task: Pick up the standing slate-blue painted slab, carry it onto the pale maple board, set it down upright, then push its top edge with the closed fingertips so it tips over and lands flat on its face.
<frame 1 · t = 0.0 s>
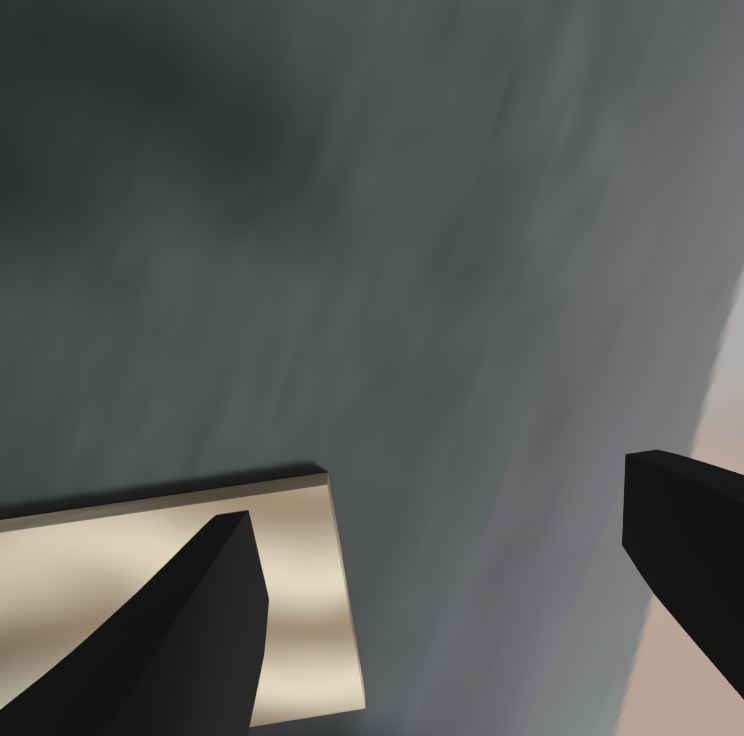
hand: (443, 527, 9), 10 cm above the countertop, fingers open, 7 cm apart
board: (170, 616, 21), on the countertop
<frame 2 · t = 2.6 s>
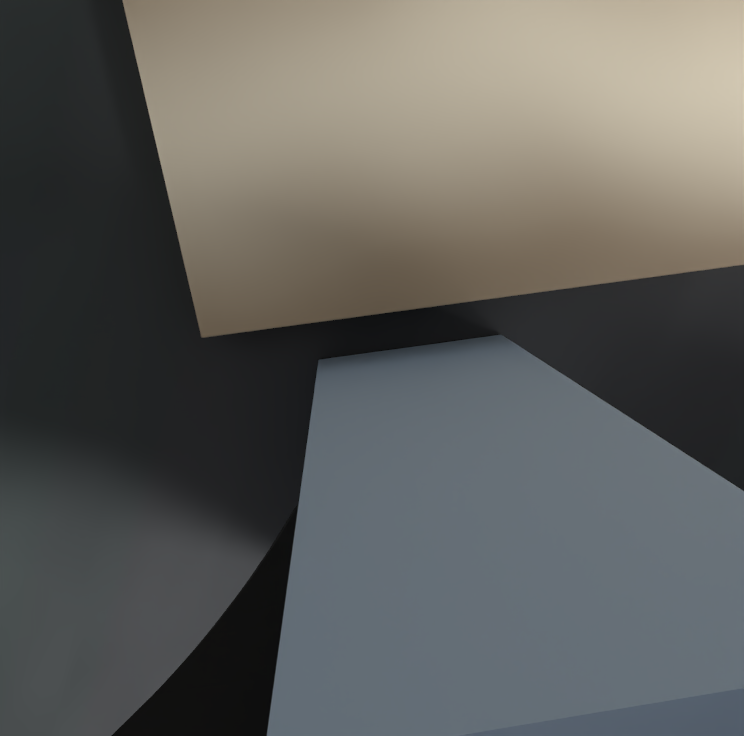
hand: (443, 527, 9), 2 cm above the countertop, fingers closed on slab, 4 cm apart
slab: (423, 470, 11), on the countertop, touching gripper
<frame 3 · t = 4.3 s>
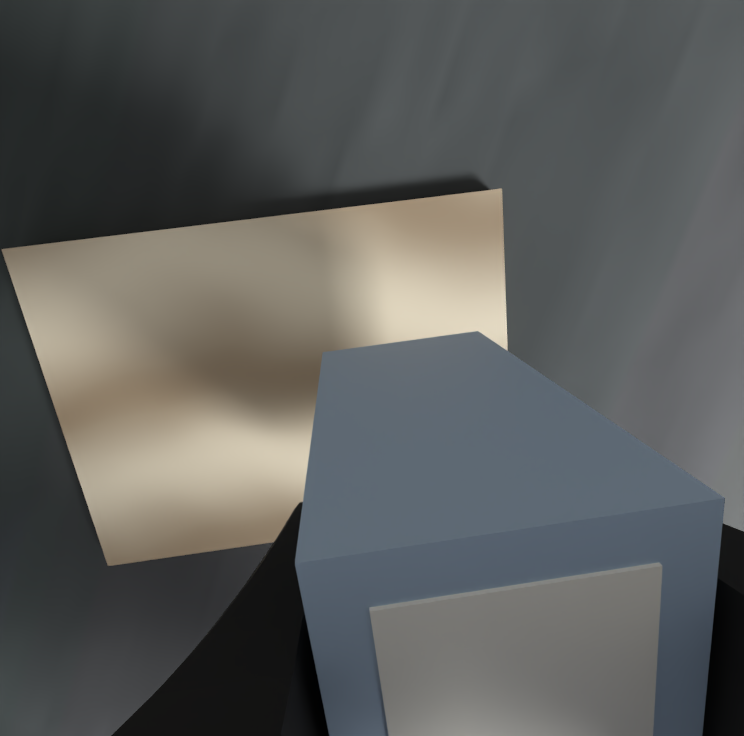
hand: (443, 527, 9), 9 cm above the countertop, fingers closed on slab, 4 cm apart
board: (290, 384, 18), on the countertop
slab: (412, 448, 13), point 5 cm above the countertop, touching gripper
when the fingers open (4 cm above the countertop, at t = 5.8 s): slab stays where it is, resting on board.
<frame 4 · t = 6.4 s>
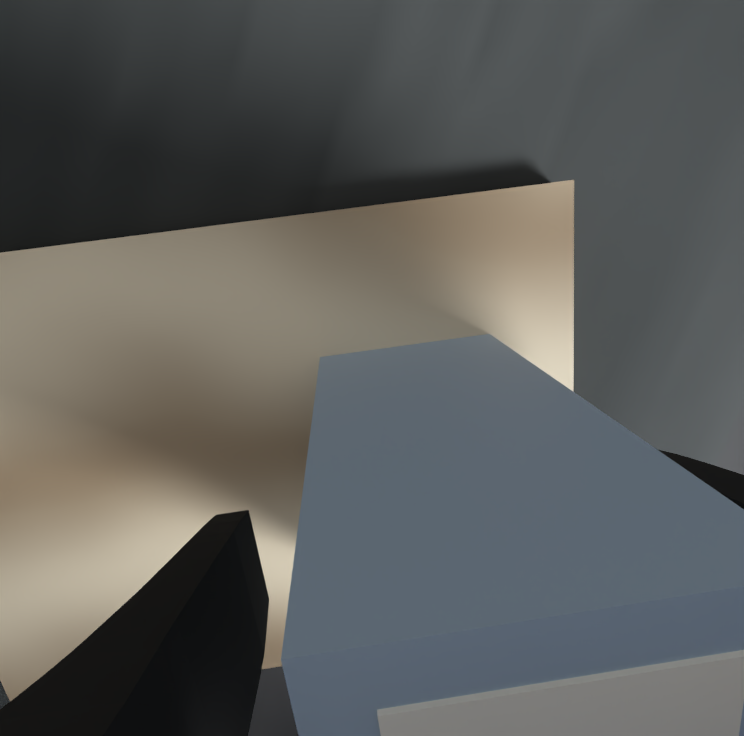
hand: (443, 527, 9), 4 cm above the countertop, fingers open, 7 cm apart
board: (264, 458, 13), on the countertop
slab: (417, 460, 12), point 1 cm above the countertop, touching board
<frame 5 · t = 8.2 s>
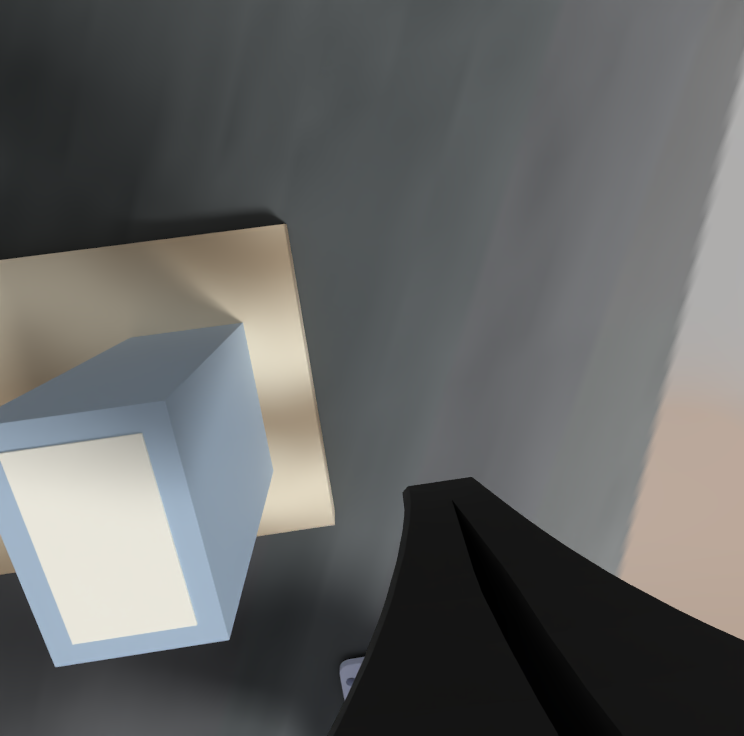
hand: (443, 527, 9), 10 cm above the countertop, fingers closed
board: (109, 409, 18), on the countertop
slab: (205, 407, 18), point 1 cm above the countertop, touching board
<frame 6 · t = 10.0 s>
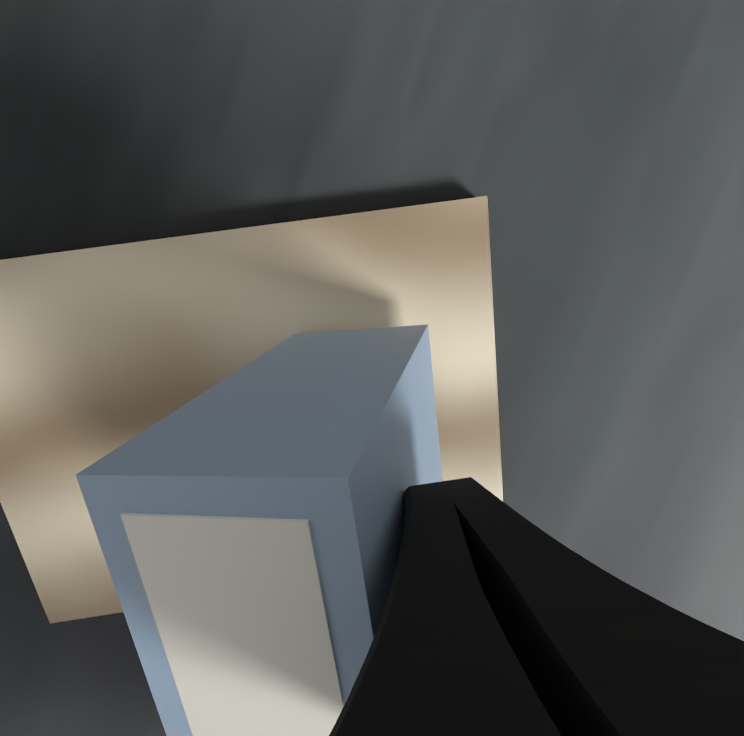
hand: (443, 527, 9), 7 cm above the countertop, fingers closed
board: (252, 418, 16), on the countertop
slab: (371, 425, 14), point 2 cm above the countertop, tilted 17°, touching board
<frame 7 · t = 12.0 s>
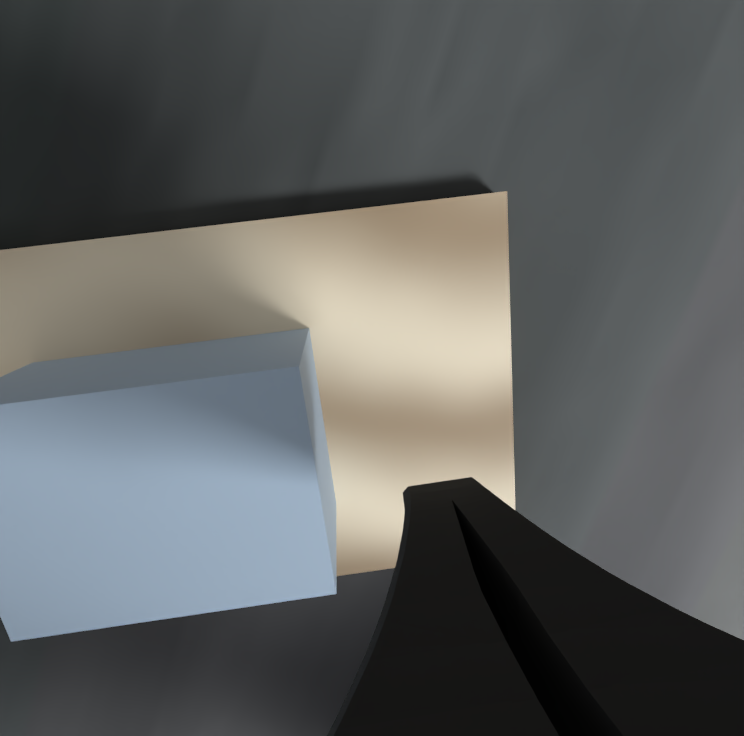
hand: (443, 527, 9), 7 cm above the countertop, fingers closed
board: (264, 413, 16), on the countertop
slab: (321, 450, 13), point 3 cm above the countertop, tilted 90°, touching board
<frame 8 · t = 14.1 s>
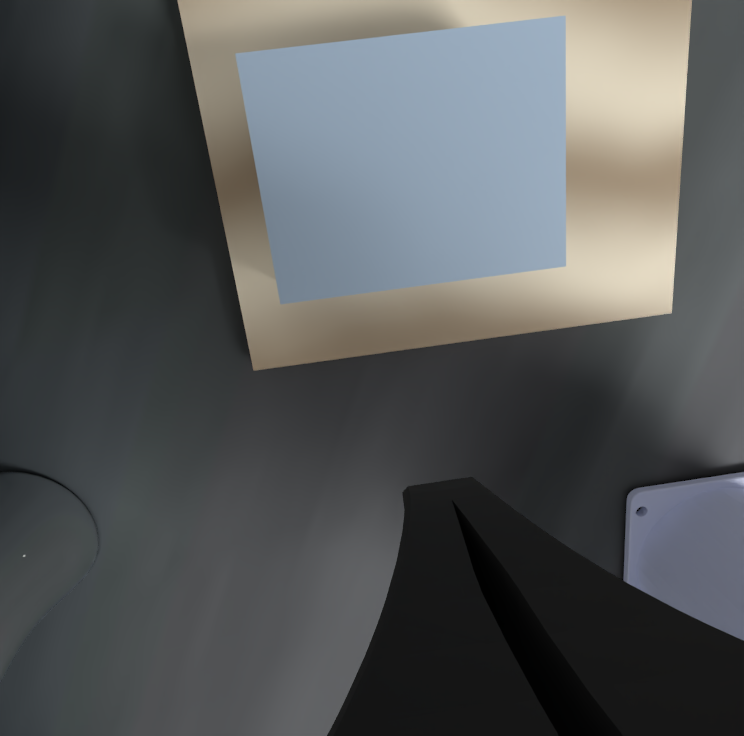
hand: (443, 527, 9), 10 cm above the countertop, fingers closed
board: (447, 174, 17), on the countertop
slab: (534, 160, 14), point 3 cm above the countertop, tilted 90°, touching board
beer glass: (27, 531, 20), on the countertop
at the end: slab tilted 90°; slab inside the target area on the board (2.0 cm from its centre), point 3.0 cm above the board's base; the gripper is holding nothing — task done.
